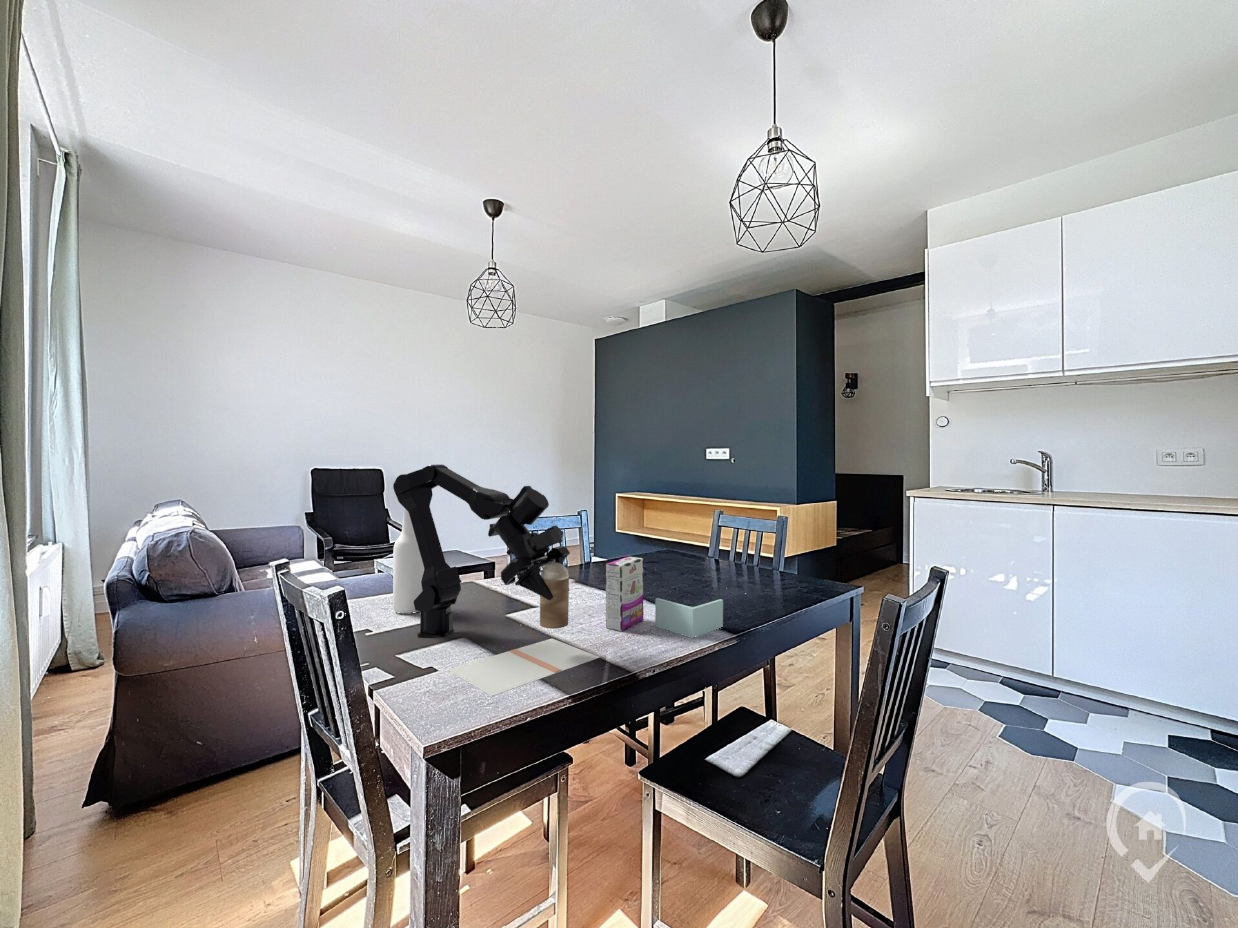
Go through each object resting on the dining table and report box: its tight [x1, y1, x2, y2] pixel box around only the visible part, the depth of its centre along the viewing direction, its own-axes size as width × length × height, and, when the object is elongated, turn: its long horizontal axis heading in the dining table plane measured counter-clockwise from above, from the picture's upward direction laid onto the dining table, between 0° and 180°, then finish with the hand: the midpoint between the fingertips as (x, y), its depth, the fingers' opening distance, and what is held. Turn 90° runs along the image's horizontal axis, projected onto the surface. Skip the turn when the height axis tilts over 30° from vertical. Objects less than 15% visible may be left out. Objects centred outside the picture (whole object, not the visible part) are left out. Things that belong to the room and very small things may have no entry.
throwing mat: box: [446, 638, 601, 697], centre depth 109 cm, size 26×16×1 cm, turn 135°
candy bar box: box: [605, 556, 644, 632], centre depth 137 cm, size 11×5×16 cm, turn 148°
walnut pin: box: [539, 563, 570, 630], centre depth 114 cm, size 6×6×13 cm
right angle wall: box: [654, 598, 724, 639], centre depth 136 cm, size 12×12×8 cm
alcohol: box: [392, 507, 424, 613], centre depth 148 cm, size 9×9×30 cm
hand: (559, 595), depth 114 cm, fingers closed on walnut pin, 6 cm apart
